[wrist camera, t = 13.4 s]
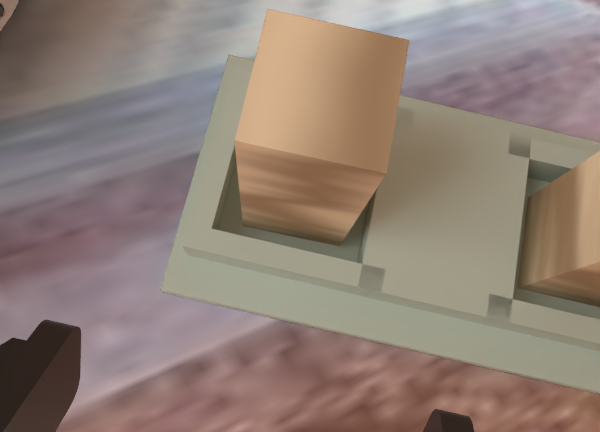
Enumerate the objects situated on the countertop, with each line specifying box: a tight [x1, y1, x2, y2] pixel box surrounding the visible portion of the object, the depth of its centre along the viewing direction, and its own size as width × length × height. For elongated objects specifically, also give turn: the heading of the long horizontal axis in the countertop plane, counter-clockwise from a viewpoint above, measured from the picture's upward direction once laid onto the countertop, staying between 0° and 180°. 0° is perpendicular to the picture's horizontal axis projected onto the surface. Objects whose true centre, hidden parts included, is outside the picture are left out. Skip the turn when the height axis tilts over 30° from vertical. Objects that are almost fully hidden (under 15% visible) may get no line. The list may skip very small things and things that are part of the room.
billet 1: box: [234, 9, 409, 246], centre depth 22 cm, size 4×5×10 cm
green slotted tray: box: [160, 55, 600, 394], centre depth 26 cm, size 23×12×3 cm, turn 77°
